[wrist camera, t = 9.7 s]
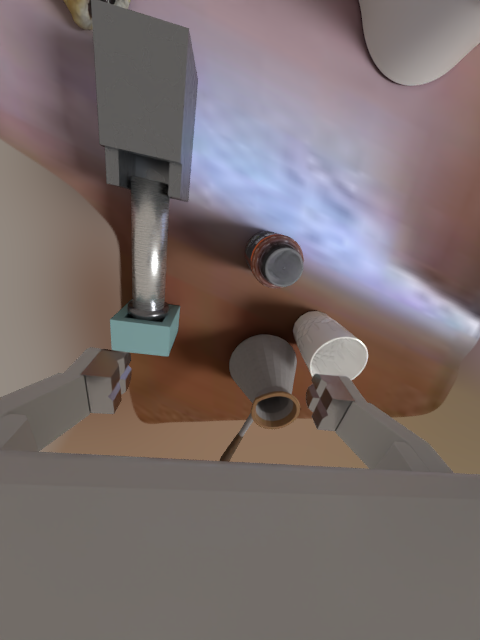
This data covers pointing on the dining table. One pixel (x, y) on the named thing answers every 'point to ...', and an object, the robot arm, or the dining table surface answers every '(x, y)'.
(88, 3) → the pastry
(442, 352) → the dining table surface
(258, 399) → the coffee pot
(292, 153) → the dining table surface
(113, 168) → the sleeve
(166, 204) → the tube
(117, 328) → the socket
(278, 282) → the supplement bottle
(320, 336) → the white cup
